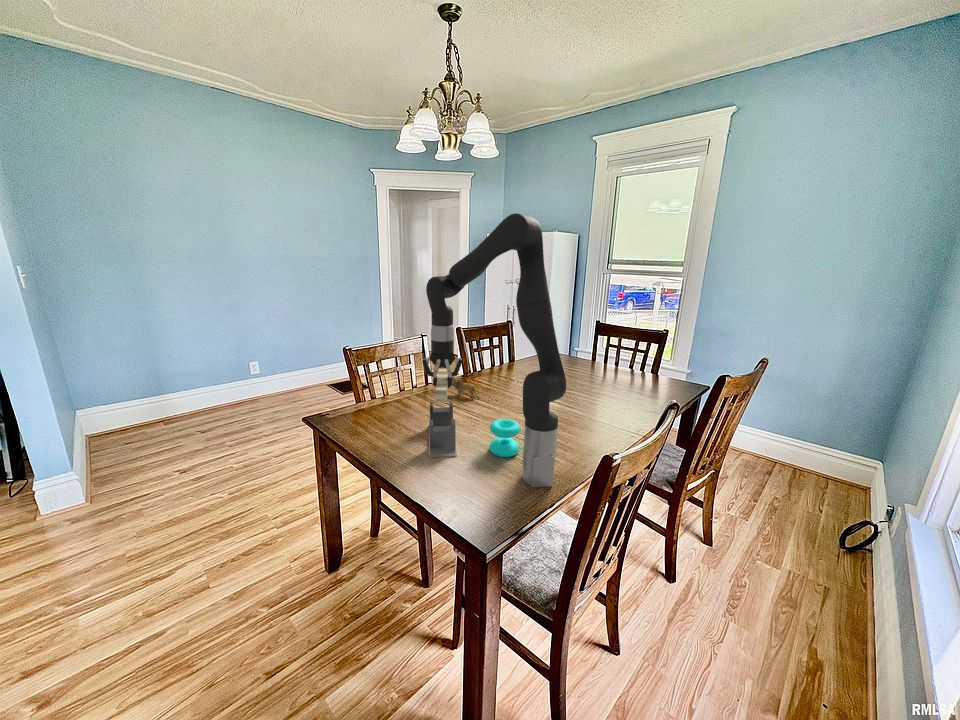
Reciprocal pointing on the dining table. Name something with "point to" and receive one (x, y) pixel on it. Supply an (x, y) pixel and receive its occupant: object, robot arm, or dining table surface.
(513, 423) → the turquoise hourglass-shaped piece
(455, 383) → the lion figurine
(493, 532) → the dining table surface
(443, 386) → the birch rail
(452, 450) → the cradle bracket stand
